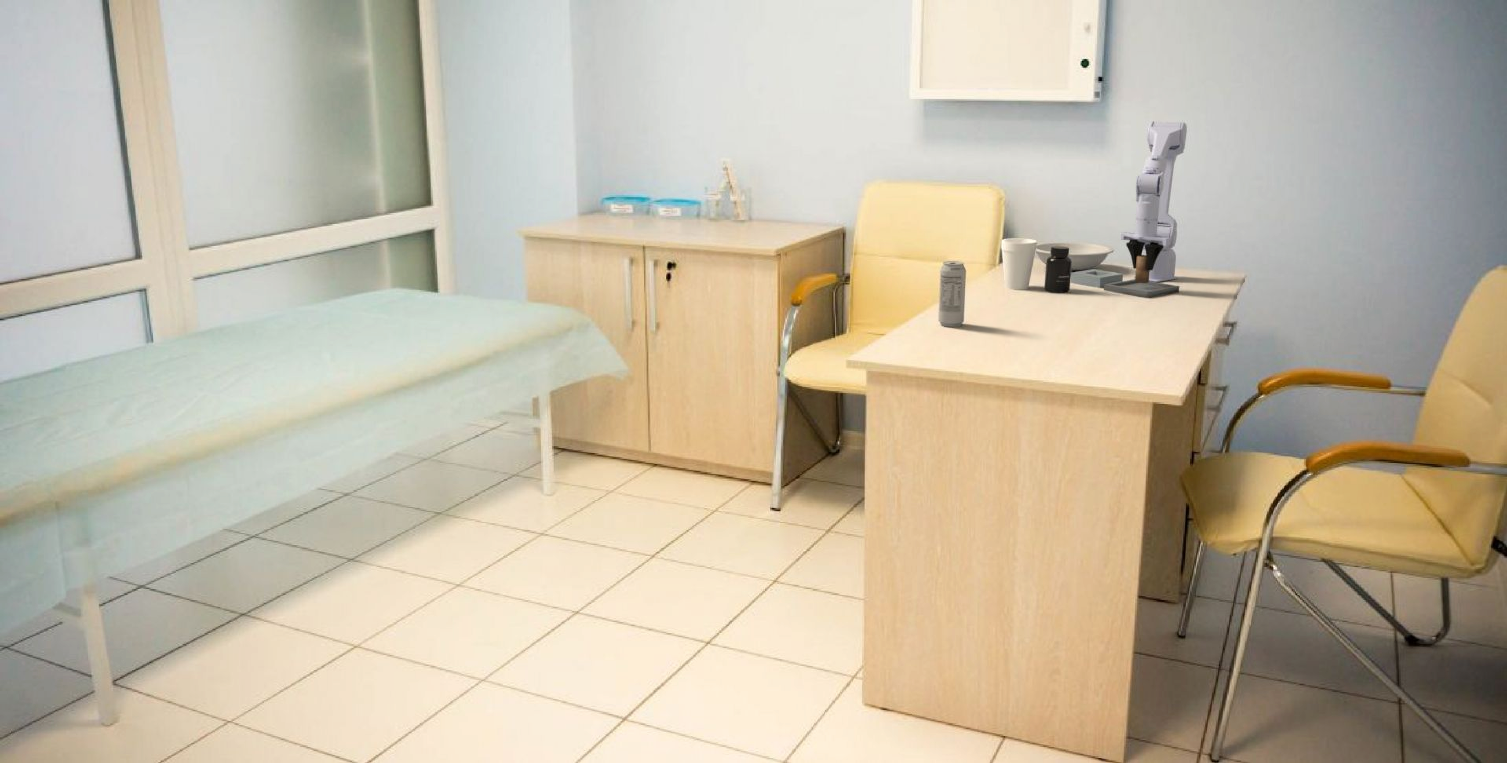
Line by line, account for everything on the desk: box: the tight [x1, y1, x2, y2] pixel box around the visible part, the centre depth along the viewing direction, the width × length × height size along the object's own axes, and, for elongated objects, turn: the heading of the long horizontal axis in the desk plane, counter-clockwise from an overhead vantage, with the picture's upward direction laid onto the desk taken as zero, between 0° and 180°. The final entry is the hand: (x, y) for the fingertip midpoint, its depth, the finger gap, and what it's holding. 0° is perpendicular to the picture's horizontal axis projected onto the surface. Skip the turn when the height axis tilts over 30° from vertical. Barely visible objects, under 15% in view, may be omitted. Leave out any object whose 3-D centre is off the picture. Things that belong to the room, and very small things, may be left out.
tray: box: [1103, 278, 1180, 299], centre depth 338 cm, size 14×14×2 cm
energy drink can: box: [938, 260, 967, 328], centre depth 296 cm, size 6×6×15 cm
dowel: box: [1134, 254, 1150, 283], centre depth 337 cm, size 4×4×7 cm
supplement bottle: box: [1043, 246, 1072, 294], centre depth 337 cm, size 7×7×12 cm
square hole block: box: [1070, 268, 1124, 289], centre depth 350 cm, size 10×10×3 cm
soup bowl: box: [1035, 241, 1115, 272], centre depth 371 cm, size 24×24×7 cm
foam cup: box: [1000, 237, 1038, 291], centre depth 342 cm, size 10×9×13 cm
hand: (1142, 269), depth 337 cm, fingers closed on dowel, 4 cm apart
